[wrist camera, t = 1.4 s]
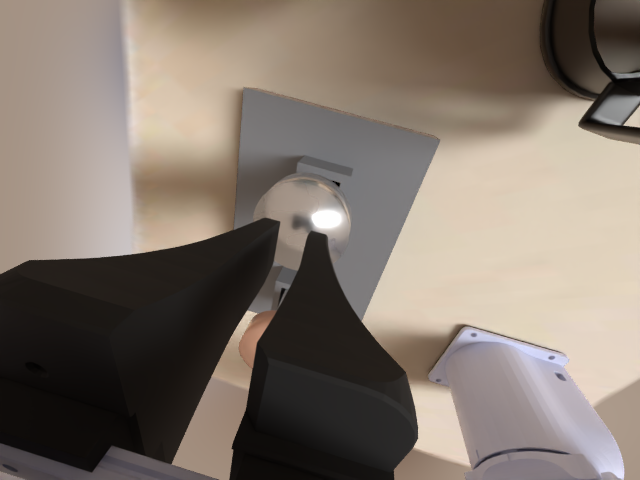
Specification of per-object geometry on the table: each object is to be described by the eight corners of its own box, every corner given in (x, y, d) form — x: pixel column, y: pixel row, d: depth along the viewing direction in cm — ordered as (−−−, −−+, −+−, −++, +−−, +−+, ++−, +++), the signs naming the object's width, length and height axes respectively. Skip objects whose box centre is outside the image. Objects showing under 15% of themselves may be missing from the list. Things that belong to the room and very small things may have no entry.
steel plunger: (364, 166, 16) (362, 198, 11) (344, 230, 18) (335, 281, 13) (292, 146, 16) (258, 170, 11) (281, 213, 18) (248, 256, 13)
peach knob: (328, 283, 20) (314, 343, 15) (315, 322, 22) (300, 386, 17) (272, 266, 20) (241, 321, 15) (265, 308, 22) (236, 366, 18)
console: (433, 135, 17) (449, 145, 14) (353, 324, 26) (351, 360, 23) (256, 87, 18) (228, 86, 14) (237, 290, 27) (217, 320, 23)
